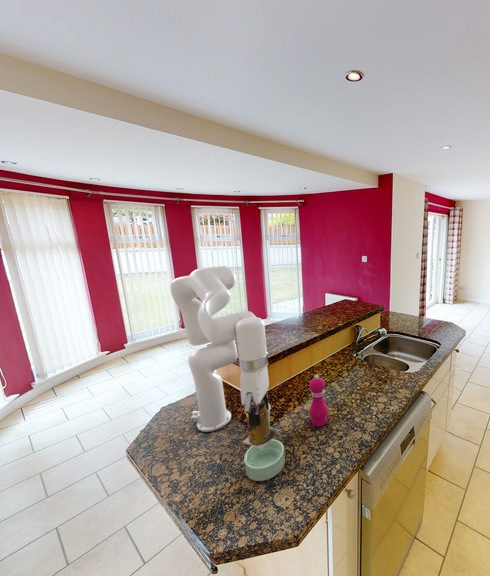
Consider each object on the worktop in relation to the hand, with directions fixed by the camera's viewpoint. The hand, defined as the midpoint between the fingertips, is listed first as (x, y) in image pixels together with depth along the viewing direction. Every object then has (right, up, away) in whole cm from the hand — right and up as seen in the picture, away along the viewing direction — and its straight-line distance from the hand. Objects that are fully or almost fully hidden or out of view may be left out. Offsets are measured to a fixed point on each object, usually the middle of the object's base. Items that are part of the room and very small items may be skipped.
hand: (259, 416), depth 83 cm
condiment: (0, -7, +2) cm, 8 cm away
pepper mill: (+14, -15, +29) cm, 36 cm away
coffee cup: (-7, -17, +23) cm, 30 cm away
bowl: (-1, -20, +8) cm, 21 cm away
